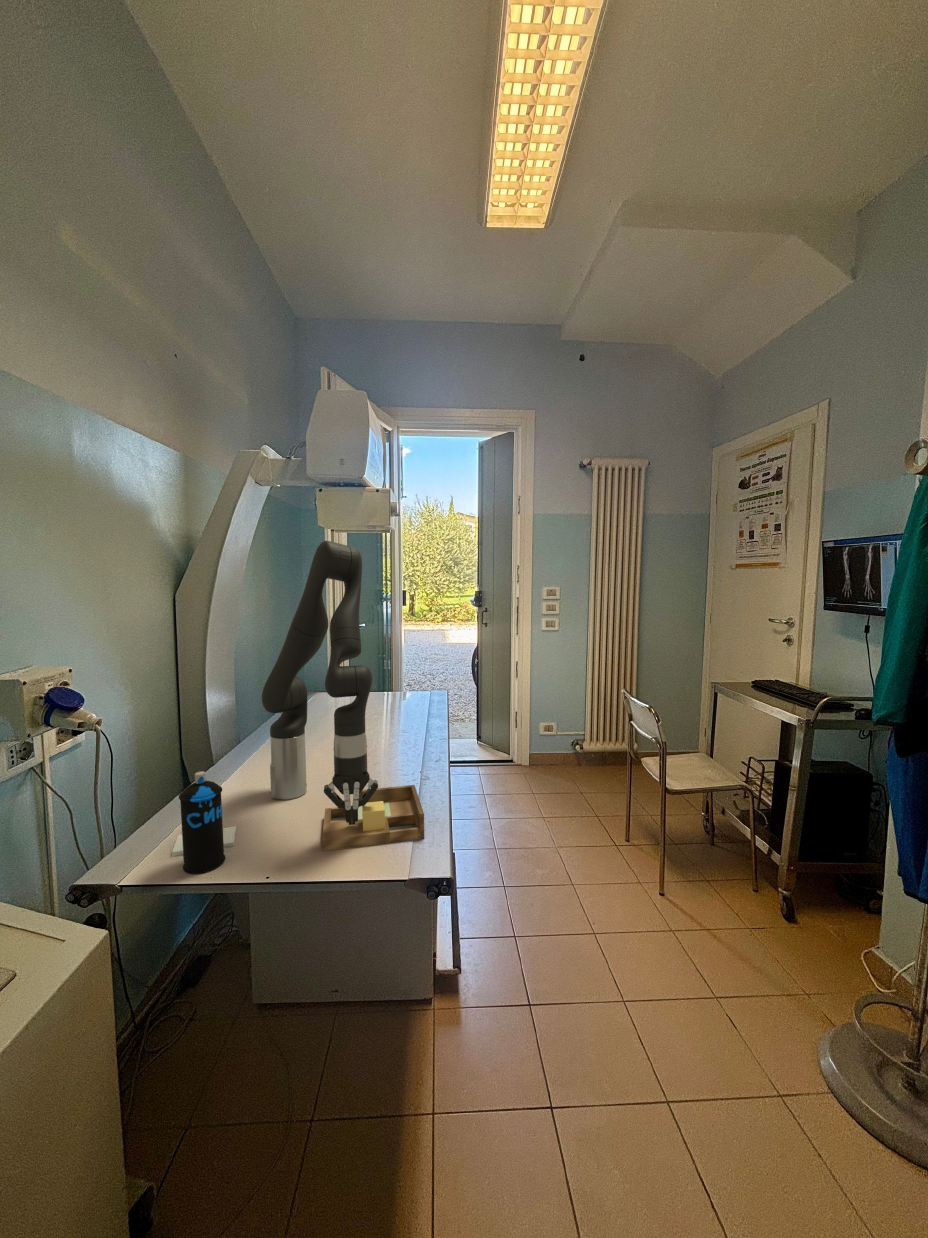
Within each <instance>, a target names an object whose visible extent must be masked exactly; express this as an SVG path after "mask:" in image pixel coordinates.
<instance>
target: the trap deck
mask: <svg viewBox="0 0 928 1238" xmlns="http://www.w3.org/2000/svg"><path fill="white" fill-rule="evenodd" d="M366 790H367V789H363V790H362V792H360V793H359V799H360V798H361V797H362V796H363V794H364V793H365V792H366ZM378 801H383V803H384V809H385V829H379V830H370V831H363V814H362V806H360V807H359V808H358V821H357V822H355V824H354V825H349V823H347V822H346V811H345V809H344V808H338V807H337V806H336V807H329V808H328V807H327V808H325V809H324V817H323V828H322V839H321V844H322V845H321V846H322V847H321V848H322V850H321V851H322V852H325V851H334V850H341V849H349V848H350V849H351V848H358V847H366V846H375V845H383V844H390V843H397V842H405V841H406V842H407V841H414V840H415V841H416V840H423V839H425V812H424V810H423V806H422V803H421V801H420V798H419V794H418V791H417V789H416V786H415V784H410V785H409V784H407V785H399V786H387V787H378V788H377V790H376V791H375V792H374V794H373V795H372V797H371V798H370V799H369V801H368V802H378ZM368 802H367V803H368Z"/></svg>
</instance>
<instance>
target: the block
mask: <svg viewBox="0 0 928 1238" xmlns="http://www.w3.org/2000/svg"><path fill="white" fill-rule="evenodd" d="M362 814H363V831H370V830H379V829H385V809H384V803H383V801H378V802H368V803H366V805H365V806H362Z"/></svg>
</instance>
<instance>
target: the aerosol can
mask: <svg viewBox="0 0 928 1238" xmlns="http://www.w3.org/2000/svg"><path fill="white" fill-rule="evenodd" d="M222 792H223V787H222V786H221V785H219V784H218V783H216V782H214V781H211V780H206V772H205V771H202V770H201V771H197V772H195V773H194V782H193V783H191V784H189V785H187V786H186V787H185V788H184V789H183V790H182V791H181V792H180V794H179V795H178V799H179V801H180V802H179V803H180V817H181V818H180V820H181V835H182V840H183V855H182V856H183V865H182V871H183V872H185V873H187V874H190V875H200V874H205V873H208V872H212V871H214V870H216V869H218V868H219V867H221V866H222V865H223V864H224V862H225V861H226V859H227V858H226V855H225V848H224V843H223V827H224V825H223V806H222V805H223V804H222V803H223V802H222Z"/></svg>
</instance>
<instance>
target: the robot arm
mask: <svg viewBox="0 0 928 1238" xmlns="http://www.w3.org/2000/svg"><path fill="white" fill-rule="evenodd" d="M310 565H311V566H310V568H309V572H308V575H307V578H306V582H305V586H304V590H303V593H302V596H301V598H300V601H299V603H298V606H297V609H296V611H295V613H294V616H293V618H292V620H291V623H290V626H289V628H288V631H287V634H286V638H285V640H284V642H283V645H282V647H281V650H280V652H279V655H278V657H277V660H276V662H275V664H274V666H273V668H272V669H271V672H270V674H269V676H268V678H267V679H266V681H265V683H264V685H263V688H262V691H261V703H262V706H263V708H264V709H265V711H266V712H268V713H270V714H280V713H281V714H280V716H279V718H277V720H275V721H274V722H273V723H272V724H271V725H270V728H269V735H270V737H269V738H270V739H269V740H270V742H269V743H270V761H271V762H270V765H269V776H270V797H271V798H270V799H271V800H273V799H278V800H294V799H297V798H299V797H301V796H304V795H305V794H306V793H307V787H308V785H307V761H306V760H307V759H306V758H307V757H306V734H305V733H306V732H305V728H306V725H307V721H308V690H307V689H308V688H307V686H306V683H305V682H304V680H303V678H301V677H300V676H297V675H298V673H299V672H300V671H301V670H302V669H303V667H305V666H306V664H307V663H308V662H310V661H311V659H313V657H314V656H315V655H316V654H317V652H318V651H319V650H320V649H321V647H322V644H323V642H324V641H325V640H324V639H325V637H326V634H328V633H327V632H328V629H329V638H330V640H329V641H330V659H329V662H328V663H329V664H328V667H327V671H326V676H325V678H324V679H325V680H324V689H325V691H326V693H327V695H329V697H331V698H335V699H337V698H349V697H350V698H351V697H355V698H354V700H353V701H352V702H350V703H348V704H345V705H341V706H339V707H337V708H336V709H335V710H334V713H333V723H334V724H333V729H334V737H333V766H334V767H333V768H334V769H333V771H334V773H333V777H332V779H331V780H332V781H330V783H329V784H325V785H324V787H323V793H324V795H325V796H326V797H327V798H328V799H329V800H331V802H332V803H333V804H334V805H335V806H336V807H338V808H344V809H345V811H346V822H347V823H349V825H354V824H355V822H357V821H358V808H359V807H360V806H365V805H366V803H367V802H368V801H369V799H370V798H371V797H372V795H373V794H374V792H375V791H376V790H377V788H379V782H378V780H374V779H372V778H370V773H369V771H368V742H367V741H368V739H367V733H366V732H367V731H366V711H367V704H368V699H369V696H370V692H371V690H372V689H371V688H372V684H373V674H372V671H371V670H370V668H369V667H368V666H367V665H363V664H360V665H357V664H356V665H342V666H341V664H342V663H343V662H346V661H349V660H352V659H355V658H357V657H359V656H360V655H361V653H362V639H361V628H360V603H361V593H362V592H361V591H362V575H363V560H362V555H361V552H360V551H359V550H358V549H357V548H356V547H354V546H350V545H346V544H344V543H343V544H342V543H338V542H335V541H334V542H333V541H330V540H323V541H322V542H320V543H319V544H318V546H317V548H316V550H315V553H314V555H313V558H312V561H311V564H310ZM328 579H329V580H334V581H338V582H343V585H344V593H343V597H342V598H341V600H340V602H339V604H338V606H337V607H336V609H335V610H334V612H333V614H332V617H331V619H330V623H329V617H328V614H327V613H328V612H327V610H326V606H325V603H324V598H323V591H324V587H325V584H326V581H327V580H328ZM366 786H367V788H366V789H365V787H366ZM336 789H337V790H338V791H339V793H340V794H342V795H343V798H341V797H340V795H338V793H336ZM362 790H366V792H365V793H364V794H363V796H362V797H361V798H360V799H359V793H360V792H362ZM351 795H352V803H351ZM343 799H344V800H343ZM351 804H352V805H351Z"/></svg>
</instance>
